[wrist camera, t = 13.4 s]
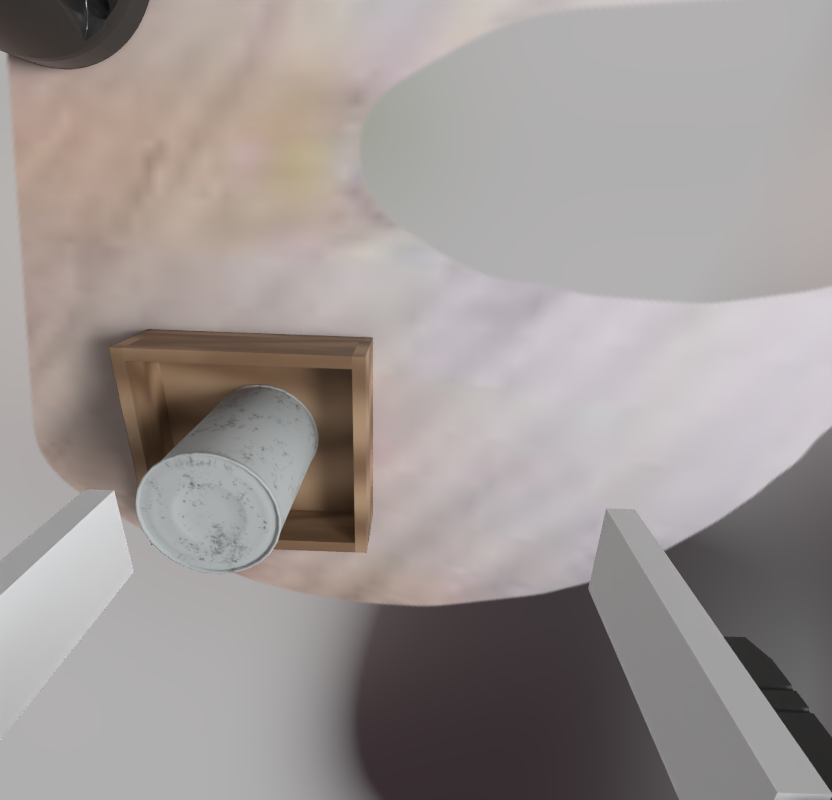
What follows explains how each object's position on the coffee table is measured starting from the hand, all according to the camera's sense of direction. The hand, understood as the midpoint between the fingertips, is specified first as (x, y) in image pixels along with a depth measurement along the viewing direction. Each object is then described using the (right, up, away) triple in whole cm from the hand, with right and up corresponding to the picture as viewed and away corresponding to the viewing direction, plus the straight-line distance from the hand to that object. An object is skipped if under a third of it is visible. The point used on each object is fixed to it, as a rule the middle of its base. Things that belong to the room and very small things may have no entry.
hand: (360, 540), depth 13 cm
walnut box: (-12, +1, +31) cm, 33 cm away
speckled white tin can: (-12, +1, +30) cm, 32 cm away
